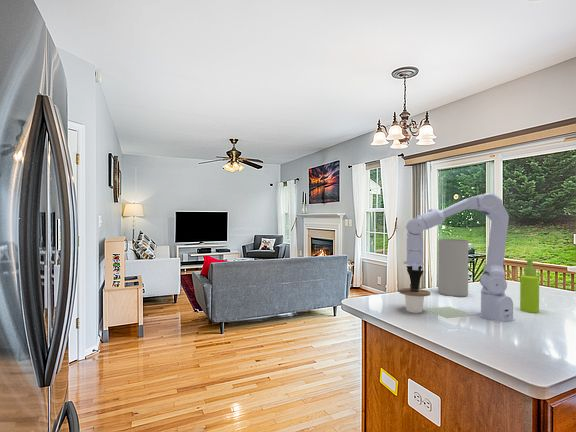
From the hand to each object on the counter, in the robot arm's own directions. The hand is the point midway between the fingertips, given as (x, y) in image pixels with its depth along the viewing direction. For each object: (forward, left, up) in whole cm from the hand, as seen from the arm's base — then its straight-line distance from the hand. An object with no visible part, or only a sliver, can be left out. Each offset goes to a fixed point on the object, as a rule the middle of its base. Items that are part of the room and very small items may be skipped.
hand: (414, 286), depth 127 cm
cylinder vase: (+20, -36, -10) cm, 42 cm away
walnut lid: (0, 0, -2) cm, 2 cm away
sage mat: (-5, -11, -9) cm, 15 cm away
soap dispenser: (-11, -44, -10) cm, 46 cm away
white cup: (0, 0, -10) cm, 10 cm away
